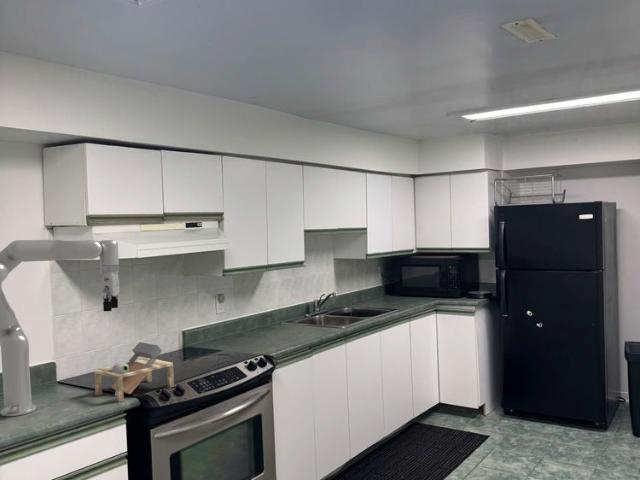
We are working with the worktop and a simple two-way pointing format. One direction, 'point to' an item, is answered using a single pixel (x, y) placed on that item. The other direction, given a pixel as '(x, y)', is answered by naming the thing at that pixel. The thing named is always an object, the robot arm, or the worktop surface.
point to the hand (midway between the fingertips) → (110, 309)
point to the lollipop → (120, 369)
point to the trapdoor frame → (119, 378)
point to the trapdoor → (139, 365)
